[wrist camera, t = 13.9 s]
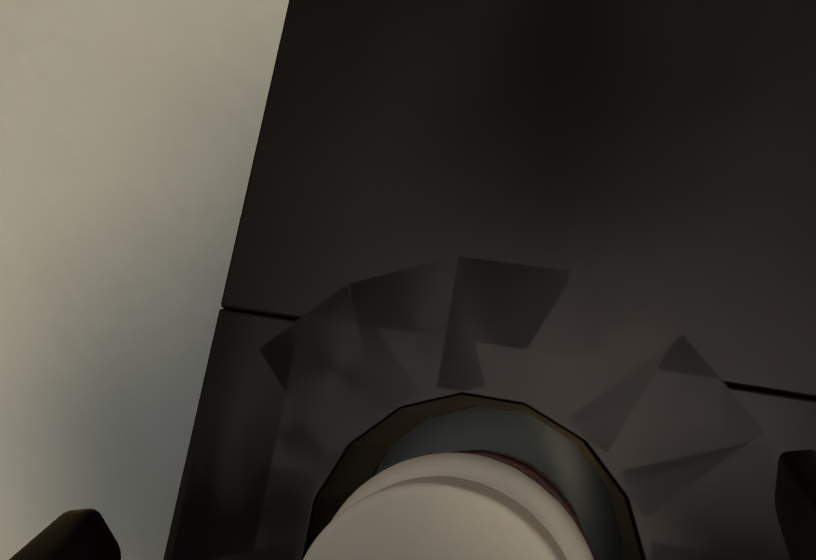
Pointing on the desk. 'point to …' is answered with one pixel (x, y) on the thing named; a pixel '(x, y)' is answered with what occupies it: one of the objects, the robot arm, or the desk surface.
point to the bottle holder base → (521, 262)
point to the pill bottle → (455, 513)
